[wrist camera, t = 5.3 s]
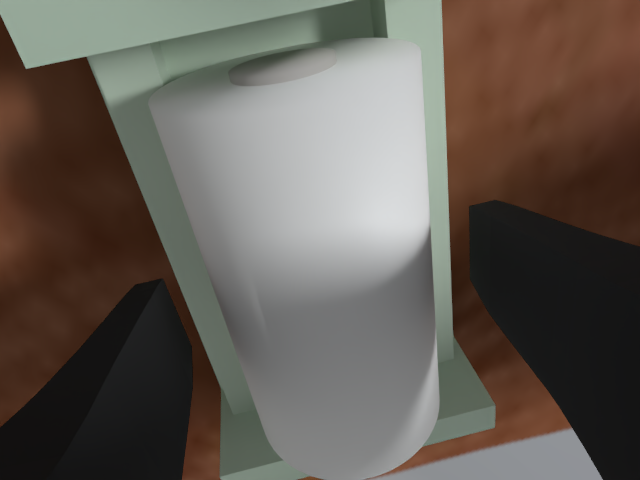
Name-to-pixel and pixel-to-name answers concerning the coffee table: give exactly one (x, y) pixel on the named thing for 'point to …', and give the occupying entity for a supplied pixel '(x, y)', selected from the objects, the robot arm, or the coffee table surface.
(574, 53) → the coffee table surface
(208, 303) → the holder
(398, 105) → the roll
